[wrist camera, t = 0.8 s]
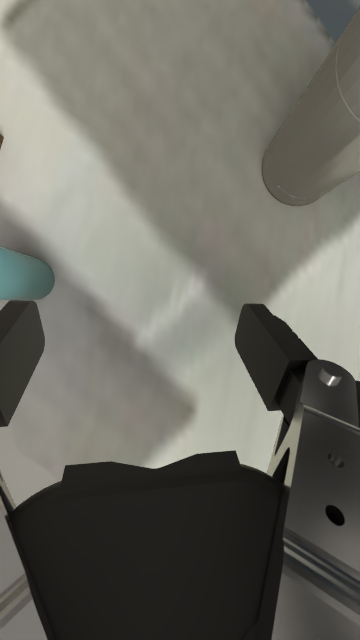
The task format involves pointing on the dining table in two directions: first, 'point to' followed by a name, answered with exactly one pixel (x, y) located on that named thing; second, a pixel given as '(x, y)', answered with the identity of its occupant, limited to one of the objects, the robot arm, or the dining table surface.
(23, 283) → the teal bottle
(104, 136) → the dining table surface
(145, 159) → the dining table surface
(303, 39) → the dining table surface
